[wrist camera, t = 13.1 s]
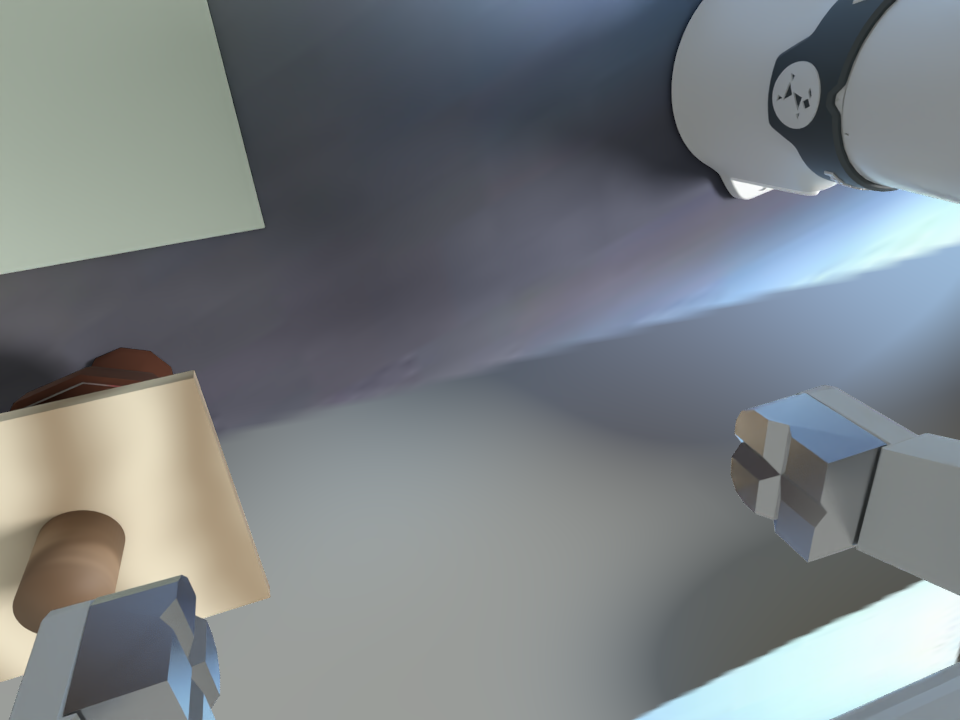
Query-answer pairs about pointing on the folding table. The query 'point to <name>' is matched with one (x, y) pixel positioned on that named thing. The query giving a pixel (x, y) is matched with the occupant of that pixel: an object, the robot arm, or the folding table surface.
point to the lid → (116, 507)
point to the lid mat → (115, 131)
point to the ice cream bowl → (100, 377)
